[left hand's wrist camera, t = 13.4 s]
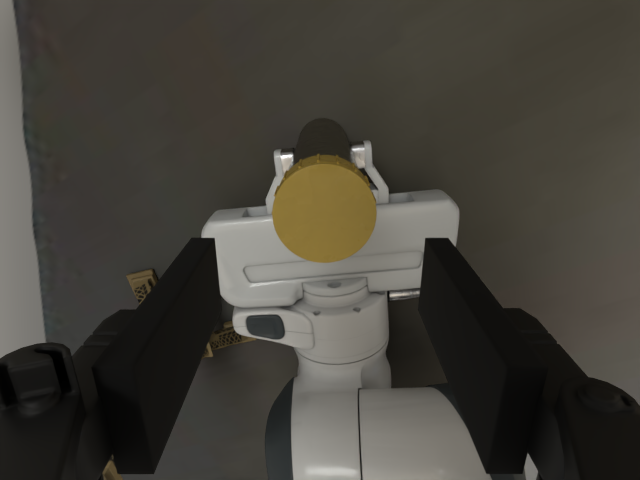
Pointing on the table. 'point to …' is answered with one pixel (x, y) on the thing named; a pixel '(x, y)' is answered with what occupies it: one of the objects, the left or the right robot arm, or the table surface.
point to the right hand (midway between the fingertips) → (321, 145)
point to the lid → (324, 209)
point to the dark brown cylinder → (322, 141)
